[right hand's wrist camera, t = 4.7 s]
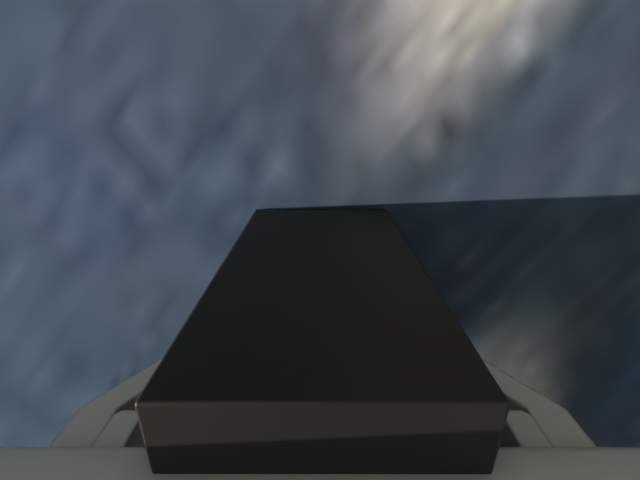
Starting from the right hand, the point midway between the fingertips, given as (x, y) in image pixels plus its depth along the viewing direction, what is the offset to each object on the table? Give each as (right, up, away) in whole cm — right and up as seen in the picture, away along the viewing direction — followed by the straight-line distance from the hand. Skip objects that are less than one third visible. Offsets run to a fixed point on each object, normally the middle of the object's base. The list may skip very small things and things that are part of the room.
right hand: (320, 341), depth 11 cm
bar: (0, -6, +7) cm, 9 cm away
